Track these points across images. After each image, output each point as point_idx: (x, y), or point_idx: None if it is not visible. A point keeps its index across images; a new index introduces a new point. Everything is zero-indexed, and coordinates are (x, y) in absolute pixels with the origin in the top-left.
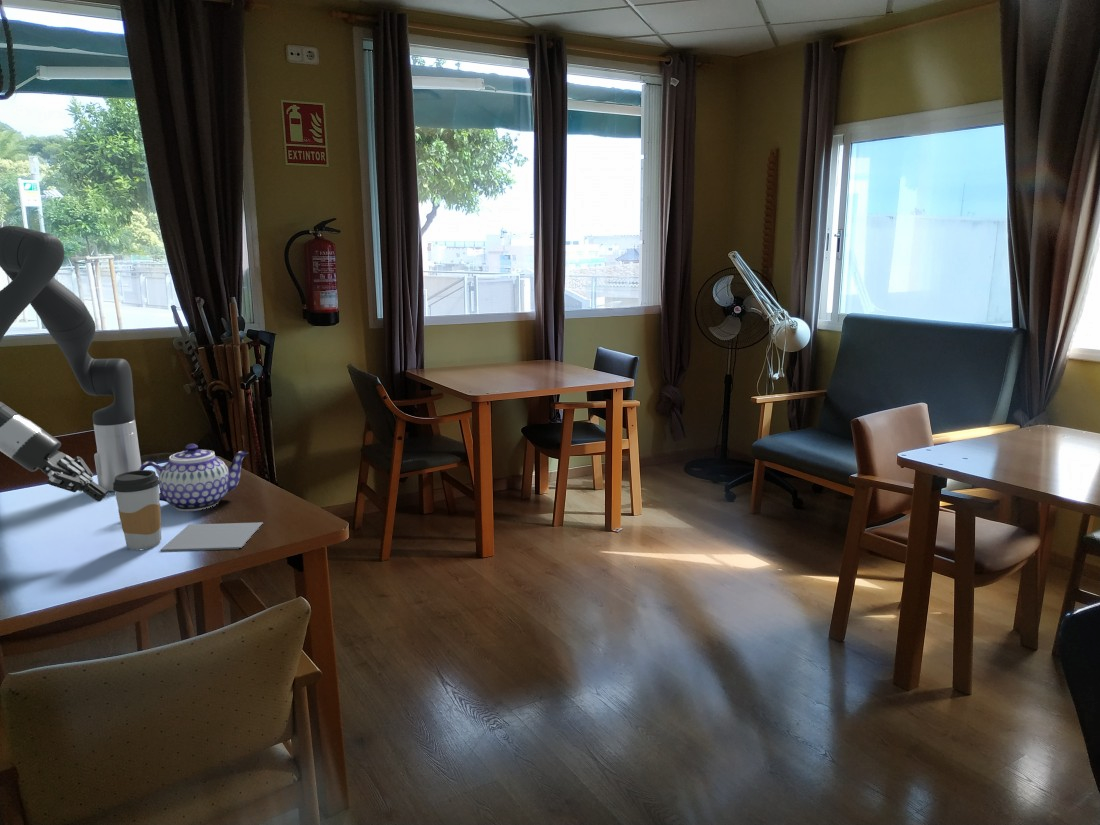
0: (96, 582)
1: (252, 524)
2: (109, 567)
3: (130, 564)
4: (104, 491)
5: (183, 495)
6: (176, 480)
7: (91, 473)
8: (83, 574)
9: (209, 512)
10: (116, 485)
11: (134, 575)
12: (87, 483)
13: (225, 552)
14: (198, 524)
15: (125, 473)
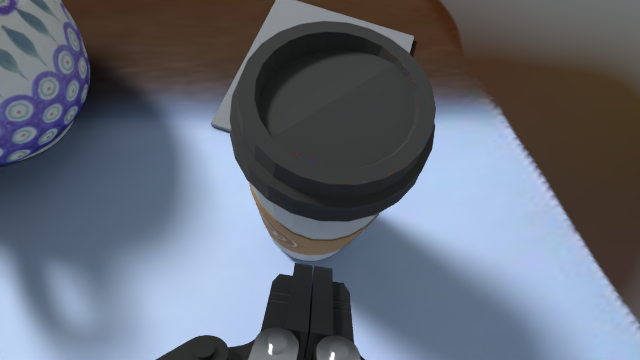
0: (542, 301)
1: (283, 11)
2: (451, 286)
3: (443, 237)
4: (317, 271)
5: (69, 98)
6: (15, 75)
7: (205, 347)
8: (486, 347)
9: (117, 84)
10: (405, 185)
11: (513, 220)
12: (352, 349)
13: (423, 63)
14: (222, 103)
15: (276, 140)
